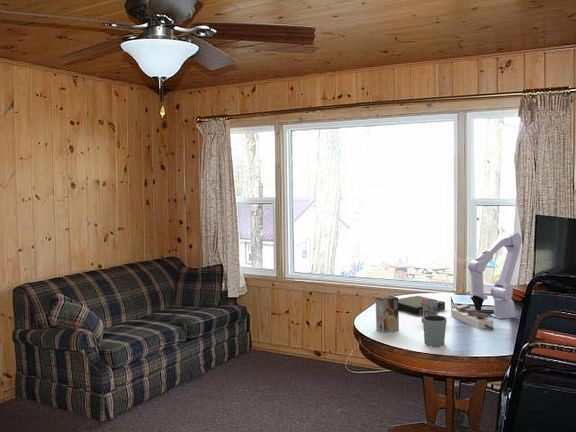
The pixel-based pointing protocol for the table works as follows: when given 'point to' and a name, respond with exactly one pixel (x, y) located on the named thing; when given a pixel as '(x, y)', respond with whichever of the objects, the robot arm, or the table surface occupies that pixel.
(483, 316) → the rocker
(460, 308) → the rocker
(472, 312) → the rocker
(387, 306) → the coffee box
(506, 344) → the table surface
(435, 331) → the grey tapered cup
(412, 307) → the network switch
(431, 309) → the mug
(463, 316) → the power strip
